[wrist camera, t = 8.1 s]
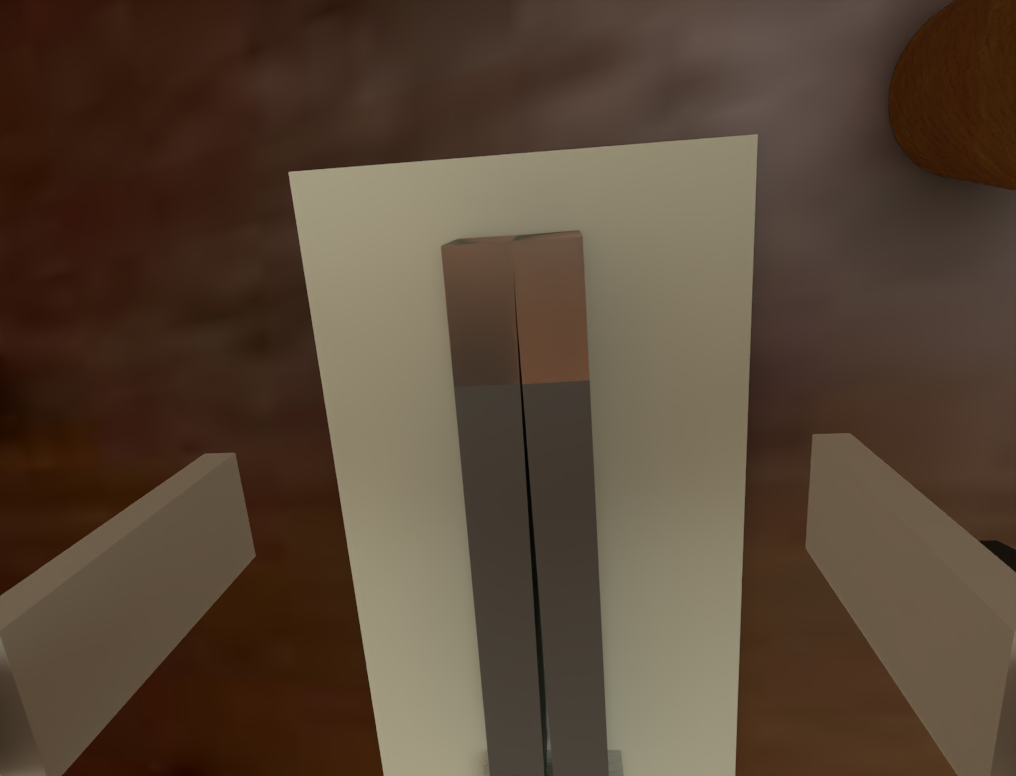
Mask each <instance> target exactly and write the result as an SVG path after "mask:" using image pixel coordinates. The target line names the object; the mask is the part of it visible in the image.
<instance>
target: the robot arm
mask: <svg viewBox="0 0 1016 776" xmlns="http://www.w3.org/2000/svg"><path fill="white" fill-rule="evenodd" d="M805 549H806V550H807V552H808V553H809V554H810V556H811V557H812V559H813V560H814V562H815V563H816V565H817V566H818V568H819V569H820V571H821V572H822V574H823V575H824V577H825V578H826V580H827V581H828V583H829V584H830V586H831V587H832V589H833V590H834V592H835V593H836V595H837V596H838V598H839V599H840V601H841V602H842V604H843V605H844V607H845V608H846V610H847V611H848V613H849V614H850V616H851V617H852V619H853V620H854V622H855V623H856V625H857V626H858V628H859V629H860V631H861V632H862V634H863V635H864V637H865V638H866V640H867V641H868V643H869V644H870V646H871V647H872V649H873V650H874V652H875V653H876V655H877V656H878V658H879V659H880V661H881V662H882V664H883V665H884V667H885V668H886V669H887V671H888V672H889V674H890V675H891V677H892V678H893V680H894V681H895V683H896V684H897V686H898V687H899V689H900V690H901V692H902V693H903V695H904V696H905V698H906V699H907V701H908V702H909V704H910V705H911V707H912V708H913V710H914V711H915V713H916V714H917V716H918V717H919V719H920V720H921V722H922V723H923V725H924V726H925V728H926V729H927V731H928V732H929V734H930V735H931V737H932V738H933V740H934V741H935V743H936V744H937V746H938V747H939V749H940V750H941V752H942V753H943V755H944V756H945V758H946V759H947V761H948V762H949V764H950V765H951V767H952V768H953V770H954V771H955V773H956V774H957V776H1016V550H1015V549H1013V548H1011V547H1009V546H1007V545H1004V544H1002V543H1000V542H998V541H978V540H977V539H975V538H974V537H973V536H972V535H971V534H969V533H968V532H967V531H966V530H965V529H963V528H962V527H961V526H960V525H959V524H958V523H956V522H955V521H954V520H953V519H952V518H950V517H949V516H948V515H947V514H946V513H944V512H943V511H942V510H941V509H940V508H939V507H937V506H936V505H935V504H934V503H933V502H931V501H930V500H929V499H928V498H927V497H925V496H924V495H923V494H922V493H921V492H919V491H918V490H917V489H916V488H915V487H914V486H912V485H911V484H910V483H909V482H908V481H906V480H905V479H904V478H903V477H902V476H900V475H899V474H898V473H897V472H896V471H895V470H893V469H892V468H891V467H890V466H889V465H887V464H886V463H885V462H884V461H883V460H881V459H880V458H879V457H878V456H877V455H875V454H874V453H873V452H872V451H871V450H870V449H868V448H867V447H866V446H865V445H864V444H862V443H861V442H860V441H859V440H858V439H856V438H855V437H854V436H853V435H852V434H851V433H836V434H813V435H812V451H811V467H810V483H809V499H808V515H807V531H806V547H805ZM255 556H256V555H255V550H254V545H253V540H252V535H251V530H250V525H249V520H248V515H247V510H246V505H245V500H244V495H243V490H242V485H241V480H240V475H239V470H238V465H237V460H236V455H235V453H213V454H204V455H202V456H201V457H199V458H198V459H197V460H195V461H194V462H192V463H191V464H189V465H188V466H186V467H185V468H184V469H182V470H181V471H179V472H178V473H176V474H175V475H174V476H172V477H171V478H169V479H168V480H166V481H165V482H163V483H162V484H161V485H159V486H158V487H156V488H155V489H153V490H152V491H151V492H149V493H148V494H146V495H145V496H143V497H142V498H140V499H139V500H138V501H136V502H135V503H133V504H132V505H130V506H129V507H128V508H126V509H125V510H123V511H122V512H120V513H119V514H117V515H116V516H115V517H113V518H112V519H110V520H109V521H107V522H106V523H105V524H103V525H102V526H100V527H99V528H97V529H96V530H94V531H93V532H92V533H90V534H89V535H87V536H86V537H84V538H83V539H82V540H80V541H79V542H77V543H76V544H74V545H73V546H72V547H70V548H69V549H67V550H66V551H64V552H63V553H61V554H60V555H59V556H57V557H56V558H54V559H53V560H51V561H50V562H49V563H47V564H46V565H44V566H43V567H41V568H40V569H38V570H37V571H35V572H34V573H32V574H31V575H29V576H28V577H26V578H25V579H24V580H22V581H21V582H19V583H18V584H16V585H15V586H13V587H12V588H11V589H10V590H8V591H6V592H5V593H3V594H2V595H1V596H0V774H1V776H62V775H63V773H64V772H65V771H66V770H67V769H68V768H69V767H70V766H71V764H72V763H73V762H74V761H75V760H76V759H77V758H78V756H79V755H80V754H81V753H82V752H83V751H84V750H85V749H86V747H87V746H88V745H89V744H90V743H91V742H92V741H93V739H94V738H95V737H96V736H97V735H98V734H99V733H100V732H101V730H102V729H103V728H104V727H105V726H106V725H107V724H108V723H109V721H110V720H111V719H112V718H113V717H114V716H115V715H116V713H117V712H118V711H119V710H120V709H121V708H122V707H123V706H124V704H125V703H126V702H127V701H128V700H129V699H130V698H131V696H132V695H133V694H134V693H135V692H136V691H137V690H138V689H139V687H140V686H141V685H142V684H143V683H144V682H145V681H146V680H147V678H148V677H149V676H150V675H151V674H152V673H153V672H154V670H155V669H156V668H157V667H158V666H159V665H160V664H161V663H162V661H163V660H164V659H165V658H166V657H167V656H168V655H169V653H170V652H171V651H172V650H173V649H174V648H175V647H176V646H177V644H178V643H179V642H180V641H181V640H182V639H183V638H184V636H185V635H186V634H187V633H188V632H189V631H190V630H191V629H192V627H193V626H194V625H195V624H196V623H197V622H198V621H199V620H200V618H201V617H202V616H203V615H204V614H205V613H206V612H207V610H208V609H209V608H210V607H211V606H212V605H213V604H214V603H215V601H216V600H217V599H218V598H219V597H220V596H221V595H222V593H223V592H224V591H225V590H226V589H227V588H228V587H229V586H230V584H231V583H232V582H233V581H234V580H235V579H236V578H237V576H238V575H239V574H240V573H241V572H242V571H243V570H244V569H245V567H246V566H247V565H248V564H249V563H250V562H251V561H252V560H253V558H254V557H255Z"/></svg>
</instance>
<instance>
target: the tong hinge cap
mask: <svg viewBox="0 0 1016 776" xmlns="http://www.w3.org/2000/svg"><path fill="white" fill-rule="evenodd" d="M608 770H609V776H624V773H623V764H622V755H621V750H608ZM483 776H490V772H489V761H488V750H486V757H485V765H484V772H483ZM546 776H553V767H552V755H551V750H547V769H546Z"/></svg>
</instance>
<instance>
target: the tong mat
mask: <svg viewBox="0 0 1016 776" xmlns="http://www.w3.org/2000/svg"><path fill="white" fill-rule="evenodd" d="M757 143H758V134H755V135H742V136H730V137H717V138H705V139H692V140H680V141H668V142H655V143H643V144H630V145H618V146H605V147H593V148H580V149H568V150H556V151H543V152H531V153H518V154H506V155H493V156H481V157H468V158H456V159H444V160H431V161H419V162H406V163H394V164H381V165H369V166H357V167H344V168H332V169H319V170H307V171H294V172H288V173H289V179H290V185H291V191H292V198H293V204H294V210H295V217H296V223H297V229H298V236H299V242H300V248H301V255H302V261H303V267H304V274H305V280H306V286H307V293H308V299H309V305H310V311H311V318H312V324H313V330H314V337H315V343H316V349H317V356H318V362H319V368H320V375H321V381H322V387H323V394H324V400H325V406H326V413H327V419H328V425H329V431H330V438H331V444H332V450H333V457H334V463H335V469H336V476H337V482H338V488H339V495H340V501H341V507H342V514H343V520H344V526H345V533H346V539H347V545H348V551H349V558H350V564H351V570H352V577H353V583H354V589H355V596H356V602H357V608H358V615H359V621H360V627H361V634H362V640H363V646H364V653H365V659H366V665H367V671H368V678H369V684H370V690H371V697H372V703H373V709H374V716H375V722H376V728H377V735H378V741H379V747H380V754H381V760H382V766H383V773H384V776H483V772H484V765H485V757H486V750H487V739H486V728H485V718H484V707H483V696H482V685H481V674H480V664H479V653H478V642H477V631H476V620H475V610H474V599H473V588H472V577H471V566H470V556H469V545H468V534H467V523H466V512H465V502H464V491H463V480H462V469H461V458H460V448H459V437H458V426H457V415H456V404H455V394H454V383H453V372H452V361H451V350H450V340H449V329H448V318H447V307H446V296H445V286H444V275H443V264H442V253H441V246H442V245H444V244H446V243H449V242H451V241H453V240H456V239H463V238H479V237H495V236H511V235H527V234H540V233H552V232H565V231H577V230H580V232H581V234H582V236H583V252H584V272H585V293H586V314H587V334H588V355H589V376H590V397H591V417H592V438H593V459H594V480H595V500H596V521H597V542H598V562H599V583H600V604H601V625H602V645H603V666H604V687H605V708H606V728H607V749H608V750H621V755H622V764H623V773H624V776H735V761H736V733H737V705H738V677H739V649H740V621H741V593H742V565H743V536H744V508H745V480H746V452H747V424H748V396H749V368H750V340H751V312H752V284H753V255H754V227H755V199H756V171H757ZM540 616H541V615H540ZM541 632H542V628H541ZM542 649H543V641H542ZM543 666H544V653H543ZM544 683H545V700H546V728H547V750H551V742H550V729H549V717H548V704H547V691H546V679H545V666H544Z"/></svg>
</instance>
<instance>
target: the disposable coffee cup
mask: <svg viewBox="0 0 1016 776" xmlns="http://www.w3.org/2000/svg"><path fill="white" fill-rule="evenodd" d="M889 112H890V120H891V125H892V128H893V131H894V134H895V137H896V139H897V141H898V142H899V144H900V145H901V147H902V148H903V150H904V151H905V153H906V154H907V155H908V156H909V157H910V158H911V159H912V160H913V161H914V162H915V163H916V164H917V165H919V166H920V167H922V168H924V169H925V170H927V171H928V172H931V173H934V174H937V175H940V176H943V177H947V178H954V179H960V180H965V181H970V182H974V183H980V184H985V185H990V186H995V187H1001V188H1005V189H1009V190H1016V0H955V1H953V2H952V3H951V4H949V5H948V6H947V7H945V8H943V9H942V10H941V11H939V12H938V13H937V14H935V15H934V16H933V17H931V18H930V19H929V20H928V21H927V22H926V23H925V24H924V25H923V26H922V27H921V28H920V30H919V31H918V32H917V33H916V34H915V35H914V36H913V38H912V40H911V41H910V43H909V44H908V46H907V47H906V49H905V50H904V52H903V54H902V55H901V57H900V60H899V62H898V64H897V66H896V68H895V72H894V75H893V79H892V83H891V87H890V97H889Z"/></svg>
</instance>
